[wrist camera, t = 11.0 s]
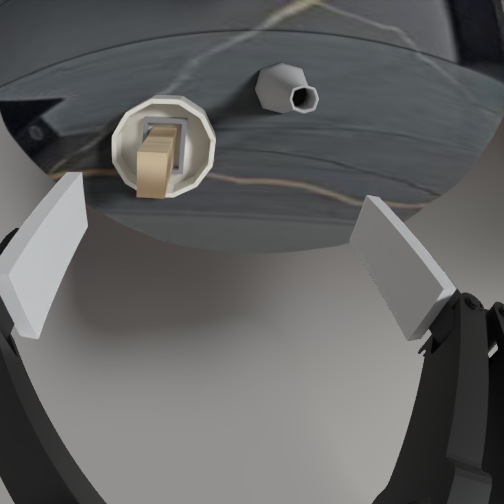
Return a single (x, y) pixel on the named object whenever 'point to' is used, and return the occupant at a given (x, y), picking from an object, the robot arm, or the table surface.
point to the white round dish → (186, 148)
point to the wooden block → (156, 162)
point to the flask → (285, 89)
